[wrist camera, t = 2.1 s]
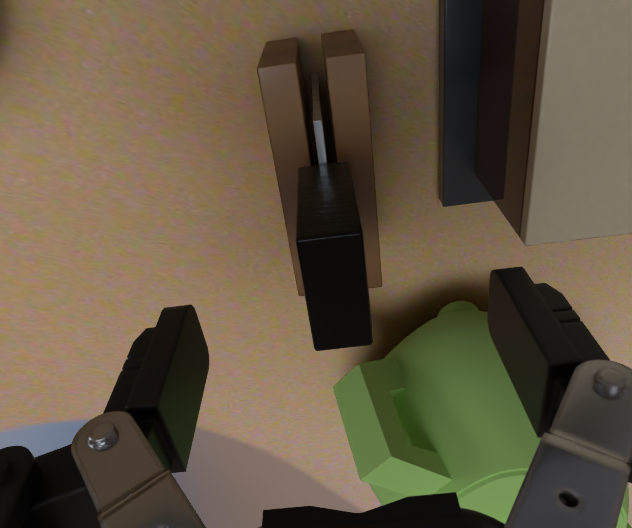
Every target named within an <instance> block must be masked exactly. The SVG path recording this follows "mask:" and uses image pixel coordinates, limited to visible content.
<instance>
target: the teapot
mask: <svg viewBox="0 0 632 528" xmlns="http://www.w3.org/2000/svg"><path fill="white" fill-rule="evenodd" d="M487 315H488V312H483V311H478V308H477V307H476V306H475V305H474V304H472V303H470V302H467V301H456V302H452V303H449V304H448V305H446V306H444V307H443V308H442V309H441V310H440V312H439V313H438V316H437V317H436V318H434V319H432V320H430V321H428V322H427V323H425V324H424V325H422V326H421V327H419V328H417V329H416V330H415V331H414V332H412V333H411V334H410V335H409V336H407V337H406V338H405V339H404V340H402V341H401V342H400V343H399V344H398V345H397V346H396V347H395V348H394V349H393V350H392V351H391V352H390V353H389V354H388V355H387V356H386V357H385V358H384V359H380V360H375V361H370V362H364V363H359V364H358V365H356V366H355V367H354V368H353V369H352V370H351V371H350V372H349V373H348V374H347V375H345V376H344V377H343V378H342V379H341V380H340V381H339V382H338V383H337V384H336V385H335V386H333V389H334V392H335V396H336V399H337V403H338V406H339V410H340V413H341V416H342V420H343V423H344V427H345V430H346V433H347V437H348V440H349V444H350V447H351V450H352V454H353V457H354V461H355V464H356V467H357V471H358V474H359V478H360V480H362V481H365V482H368V483H369V484H370V486H371V488H372V490H373V491H374V493H375V495H376V496H377V498H378V500H379V501H380V503H381V505H382V506H383V505H386V504H389V503H391V502H394V501H397V500H400V499H403V498H405V497H409V496H420V495H430V494H441V493H451V492H456V494H457V498H458V501H459V505H460V508H465V509H470V510H474V511H477V512H481V513H483V514H486V515H488V516H491V517H493V518H495V519H497V520H499V521H501V522H502V523H504V524H505V523H506V521H507V518H508V516H509V514H510V511H511V509H512V506H513V504H514V502H515V499H516V497H517V495H518V492H519V490H520V487H521V485H522V483H523V480H524V478H525V476H526V473H527V471H528V469H529V466H530V464H531V461H532V459H533V457H534V454H535V452H536V450H537V447H538V445H539V442H540V440H541V438H538V437H537V435H536V433H535V431H534V429H533V427H532V425H531V422H530V420H529V418H528V416H527V414H526V412H525V410H524V407H523V405H522V403H521V401H520V399H519V397H518V394H517V392H516V390H515V388H514V386H513V384H512V382H511V379H510V377H509V375H508V373H507V371H506V369H505V367H504V364H503V362H502V360H501V358H500V356H499V354H498V352H497V349H496V347H495V345H494V343H493V341H492V338H491V336H490V332H489V327H488V318H487ZM628 509H629V495H628V483H627V487H626V491H625V495H624V499H623V503H622V507H621V511H620V515H619V519H618V523H617V527H616V528H631V526H630V525H629V523H628Z"/></svg>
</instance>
